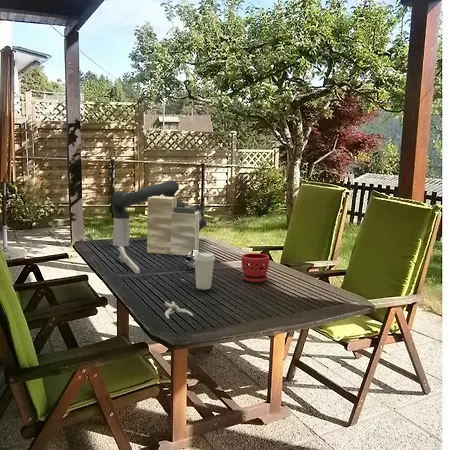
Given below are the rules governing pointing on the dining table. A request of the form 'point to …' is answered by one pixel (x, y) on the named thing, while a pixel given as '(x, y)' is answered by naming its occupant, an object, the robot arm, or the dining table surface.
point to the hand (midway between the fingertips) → (190, 205)
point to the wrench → (128, 260)
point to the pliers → (173, 306)
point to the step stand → (170, 228)
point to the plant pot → (255, 267)
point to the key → (185, 210)
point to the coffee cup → (204, 269)
